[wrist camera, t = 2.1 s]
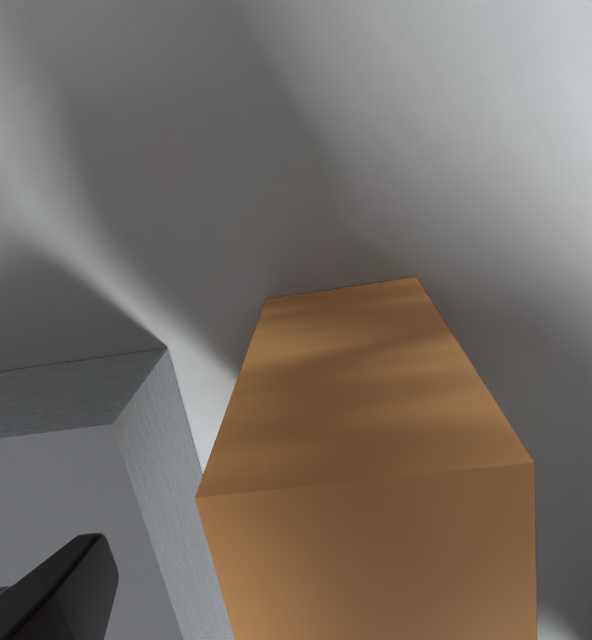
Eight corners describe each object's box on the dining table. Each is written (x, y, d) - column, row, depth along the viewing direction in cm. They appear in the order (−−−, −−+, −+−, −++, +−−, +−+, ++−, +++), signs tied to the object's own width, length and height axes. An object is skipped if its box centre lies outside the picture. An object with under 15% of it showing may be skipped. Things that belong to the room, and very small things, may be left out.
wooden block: (416, 276, 13) (534, 462, 6) (429, 410, 15) (537, 703, 7) (266, 299, 14) (194, 498, 6) (291, 426, 15) (257, 719, 8)
